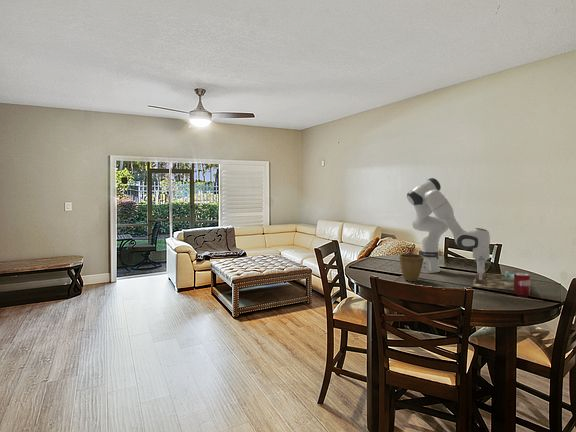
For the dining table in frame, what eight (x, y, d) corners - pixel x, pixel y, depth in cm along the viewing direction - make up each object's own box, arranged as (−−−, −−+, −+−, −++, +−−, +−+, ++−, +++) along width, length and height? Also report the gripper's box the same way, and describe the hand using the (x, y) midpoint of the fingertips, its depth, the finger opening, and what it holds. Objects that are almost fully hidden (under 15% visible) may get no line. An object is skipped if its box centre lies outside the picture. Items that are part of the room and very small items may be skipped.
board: (473, 287, 198) (473, 277, 197) (473, 280, 213) (473, 271, 212) (522, 293, 186) (522, 282, 186) (519, 285, 201) (519, 275, 200)
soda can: (510, 294, 184) (510, 272, 184) (522, 293, 185) (523, 272, 184) (520, 298, 177) (521, 275, 176) (533, 297, 178) (534, 275, 177)
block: (475, 282, 203) (475, 275, 202) (475, 281, 206) (475, 273, 206) (484, 283, 200) (484, 276, 200) (484, 282, 204) (484, 274, 204)
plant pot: (406, 283, 208) (406, 258, 207) (394, 277, 223) (395, 254, 222) (428, 282, 210) (428, 257, 209) (415, 276, 225) (416, 253, 224)
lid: (505, 279, 191) (506, 275, 191) (504, 274, 203) (504, 270, 203) (523, 281, 187) (523, 276, 187) (520, 276, 199) (520, 271, 199)
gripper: (487, 258, 192) (486, 282, 193) (486, 252, 210) (486, 274, 211) (474, 257, 195) (474, 281, 196) (475, 251, 213) (474, 273, 214)
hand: (480, 277), depth 203 cm, fingers open, 8 cm apart
